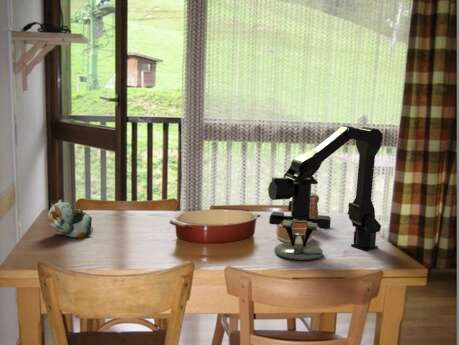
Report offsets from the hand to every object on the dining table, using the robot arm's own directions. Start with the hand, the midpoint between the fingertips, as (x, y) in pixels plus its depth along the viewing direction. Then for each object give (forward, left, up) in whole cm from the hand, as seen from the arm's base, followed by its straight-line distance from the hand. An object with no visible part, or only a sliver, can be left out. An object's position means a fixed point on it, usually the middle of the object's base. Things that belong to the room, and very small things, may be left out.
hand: (298, 246), depth 166 cm
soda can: (+21, -24, -3) cm, 32 cm away
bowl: (+13, -11, -2) cm, 17 cm away
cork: (+25, -32, -3) cm, 41 cm away
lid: (0, 0, -2) cm, 2 cm away
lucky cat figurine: (+57, +52, -3) cm, 77 cm away
